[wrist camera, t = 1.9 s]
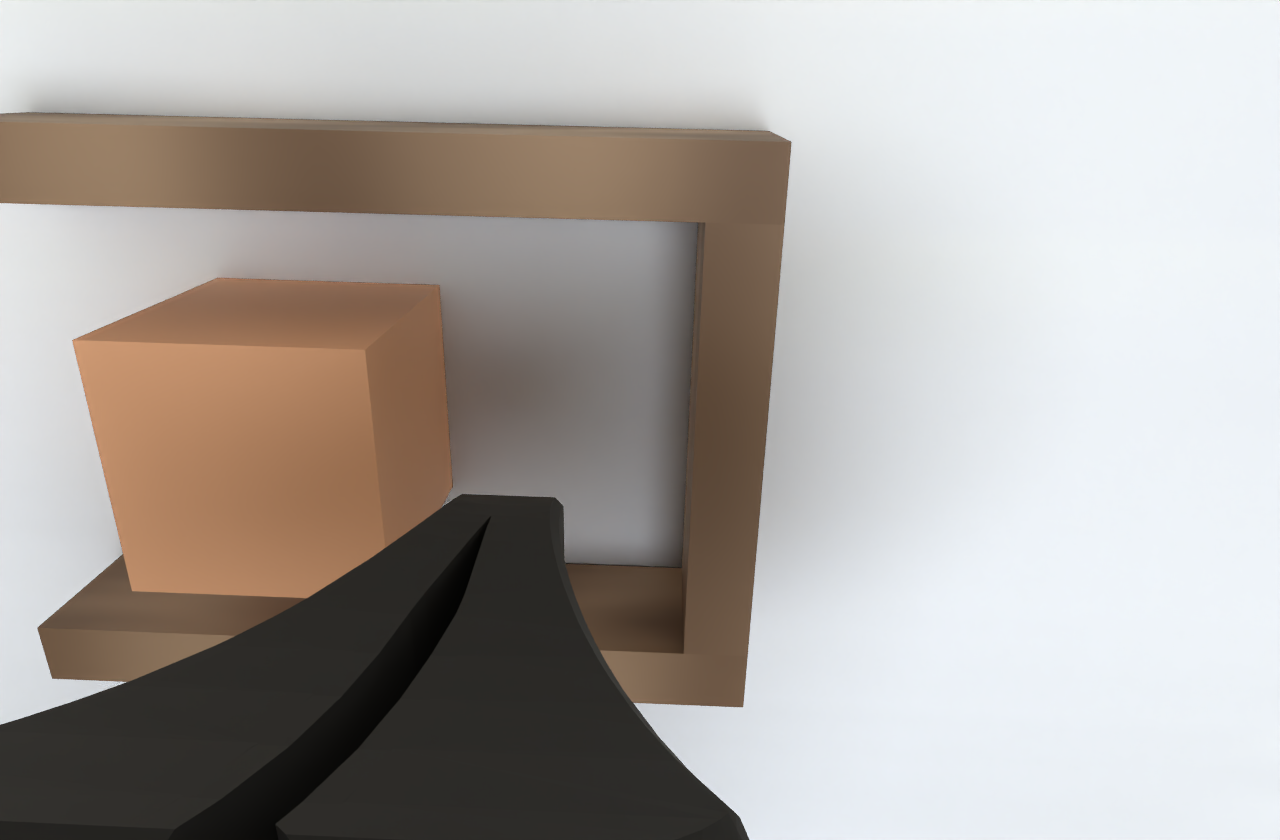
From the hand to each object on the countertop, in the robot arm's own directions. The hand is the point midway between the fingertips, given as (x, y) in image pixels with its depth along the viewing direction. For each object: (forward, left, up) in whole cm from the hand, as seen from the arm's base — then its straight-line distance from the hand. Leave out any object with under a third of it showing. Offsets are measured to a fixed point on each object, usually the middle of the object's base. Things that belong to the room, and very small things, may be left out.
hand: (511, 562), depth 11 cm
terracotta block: (-4, +3, -7) cm, 8 cm away
